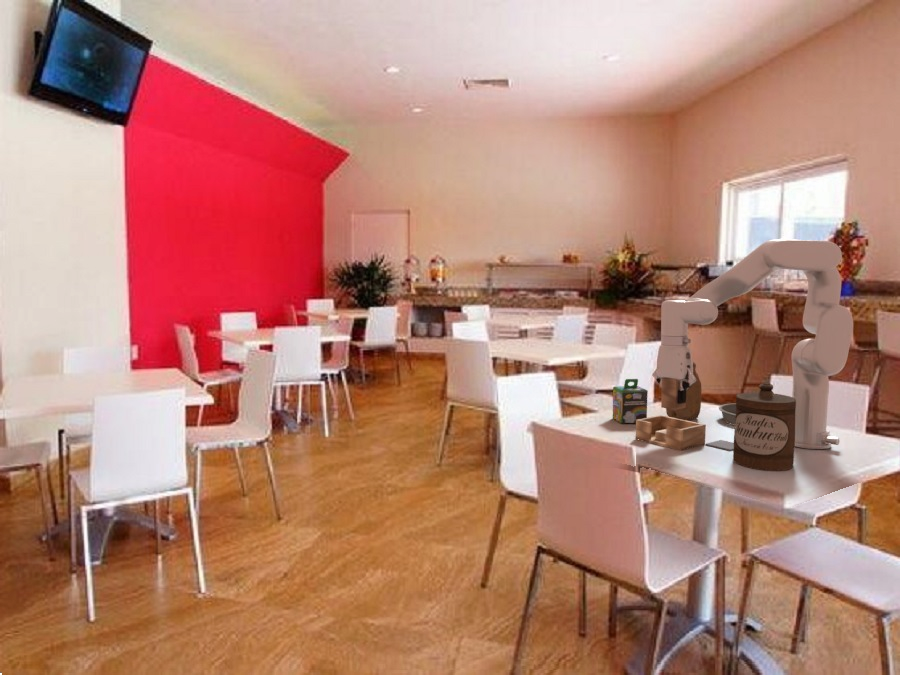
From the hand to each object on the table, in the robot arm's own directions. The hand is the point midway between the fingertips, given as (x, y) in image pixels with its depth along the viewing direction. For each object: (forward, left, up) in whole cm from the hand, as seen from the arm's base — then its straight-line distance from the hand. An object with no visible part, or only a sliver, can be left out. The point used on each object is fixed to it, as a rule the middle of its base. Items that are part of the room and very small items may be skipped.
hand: (673, 401), depth 205 cm
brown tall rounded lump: (+18, -31, -13) cm, 38 cm away
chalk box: (+26, -12, -13) cm, 31 cm away
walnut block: (0, 0, -2) cm, 2 cm away
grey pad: (-12, -9, -13) cm, 20 cm away
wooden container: (-28, -1, -13) cm, 31 cm away
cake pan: (0, -47, -13) cm, 49 cm away
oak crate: (0, 0, -13) cm, 13 cm away
